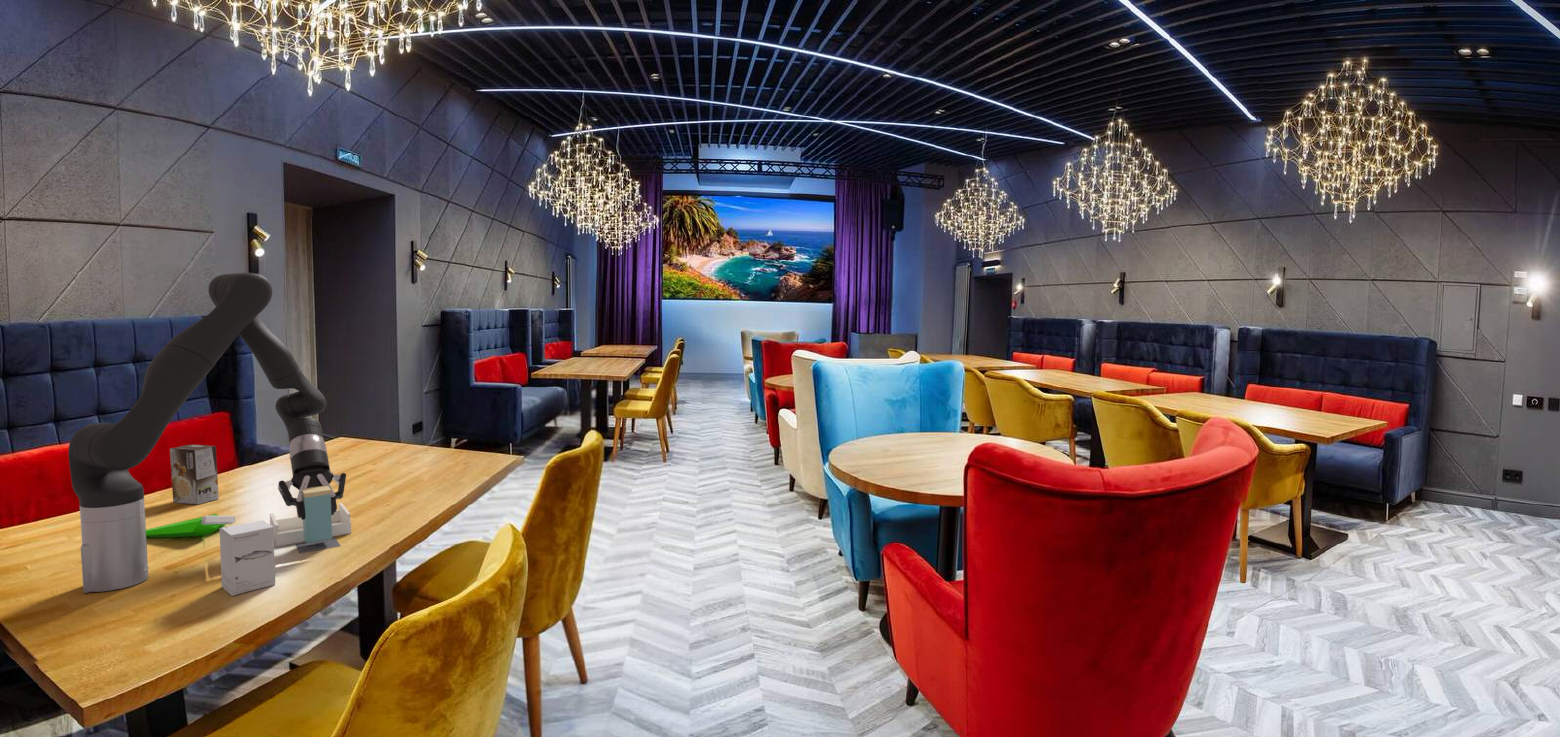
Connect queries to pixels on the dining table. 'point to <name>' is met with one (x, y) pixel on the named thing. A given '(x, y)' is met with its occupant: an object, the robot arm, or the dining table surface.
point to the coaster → (317, 545)
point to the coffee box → (194, 474)
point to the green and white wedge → (191, 527)
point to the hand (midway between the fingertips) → (318, 515)
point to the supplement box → (247, 557)
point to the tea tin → (317, 514)
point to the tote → (293, 527)
